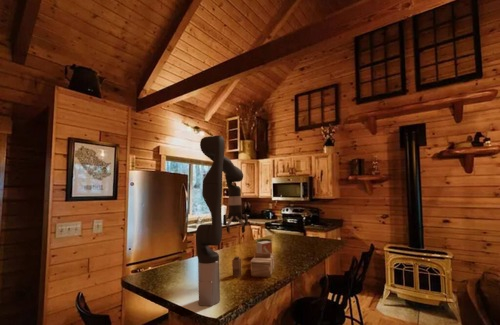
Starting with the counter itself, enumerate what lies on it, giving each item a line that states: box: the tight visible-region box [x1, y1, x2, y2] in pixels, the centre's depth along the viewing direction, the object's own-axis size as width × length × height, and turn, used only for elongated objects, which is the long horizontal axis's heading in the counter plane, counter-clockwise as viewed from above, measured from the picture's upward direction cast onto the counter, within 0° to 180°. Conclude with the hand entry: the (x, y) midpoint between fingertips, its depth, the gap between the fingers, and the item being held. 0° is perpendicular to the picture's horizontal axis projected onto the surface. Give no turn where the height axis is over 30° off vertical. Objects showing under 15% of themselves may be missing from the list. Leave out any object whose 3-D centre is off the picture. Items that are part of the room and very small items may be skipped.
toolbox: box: [250, 256, 276, 278], centre depth 152 cm, size 18×11×7 cm, turn 167°
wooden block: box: [231, 256, 242, 278], centre depth 147 cm, size 4×4×10 cm
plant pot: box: [255, 238, 273, 244], centre depth 187 cm, size 12×12×11 cm
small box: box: [256, 241, 273, 254], centre depth 172 cm, size 8×6×13 cm
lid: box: [250, 251, 275, 264], centre depth 153 cm, size 18×11×4 cm, turn 167°
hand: (235, 232), depth 149 cm, fingers open, 8 cm apart
